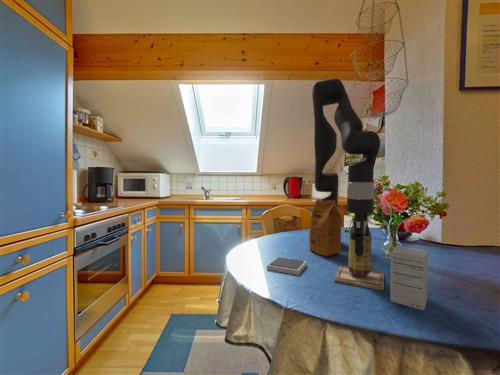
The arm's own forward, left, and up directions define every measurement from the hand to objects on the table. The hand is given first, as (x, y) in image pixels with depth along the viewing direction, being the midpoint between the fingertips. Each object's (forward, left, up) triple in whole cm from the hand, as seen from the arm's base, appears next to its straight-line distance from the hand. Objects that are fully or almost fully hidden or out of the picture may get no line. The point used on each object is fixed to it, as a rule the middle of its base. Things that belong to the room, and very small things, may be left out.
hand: (359, 251), depth 78 cm
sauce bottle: (0, 0, -7) cm, 7 cm away
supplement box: (+10, +12, -9) cm, 18 cm away
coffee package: (-23, -15, -9) cm, 29 cm away
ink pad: (+1, -23, -8) cm, 24 cm away
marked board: (0, 0, -8) cm, 8 cm away
